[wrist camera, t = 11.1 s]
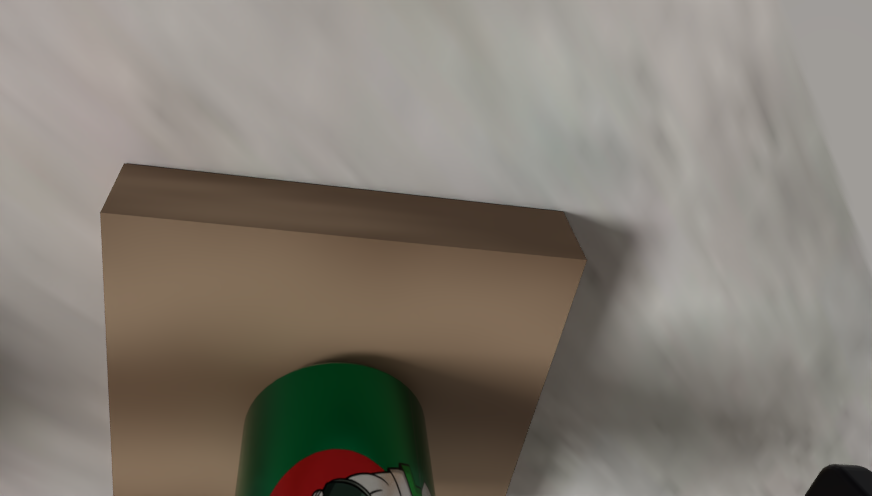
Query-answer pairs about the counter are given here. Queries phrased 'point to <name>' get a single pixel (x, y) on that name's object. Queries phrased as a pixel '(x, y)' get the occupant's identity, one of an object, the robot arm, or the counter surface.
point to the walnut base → (321, 316)
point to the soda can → (335, 436)
